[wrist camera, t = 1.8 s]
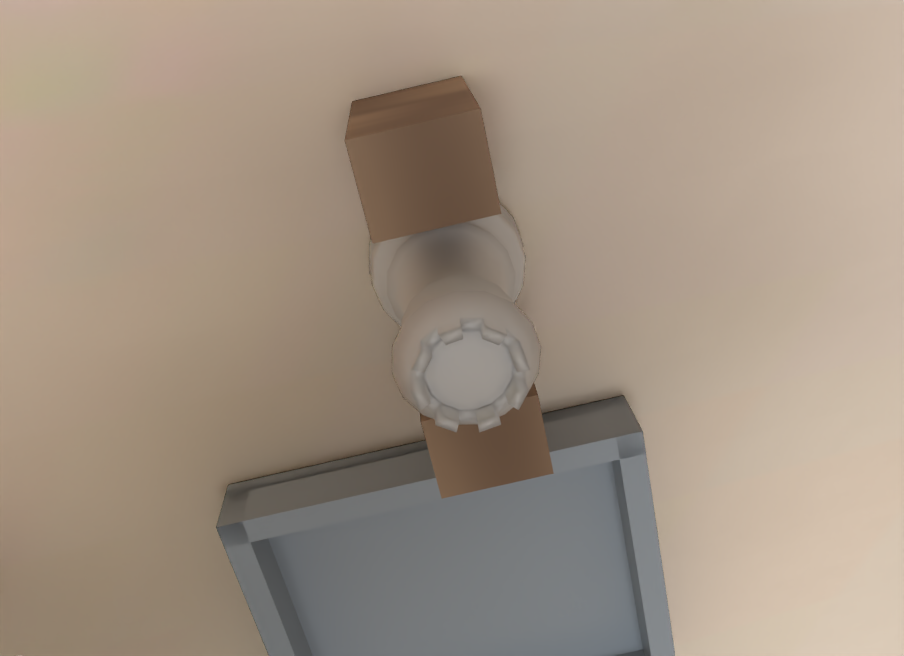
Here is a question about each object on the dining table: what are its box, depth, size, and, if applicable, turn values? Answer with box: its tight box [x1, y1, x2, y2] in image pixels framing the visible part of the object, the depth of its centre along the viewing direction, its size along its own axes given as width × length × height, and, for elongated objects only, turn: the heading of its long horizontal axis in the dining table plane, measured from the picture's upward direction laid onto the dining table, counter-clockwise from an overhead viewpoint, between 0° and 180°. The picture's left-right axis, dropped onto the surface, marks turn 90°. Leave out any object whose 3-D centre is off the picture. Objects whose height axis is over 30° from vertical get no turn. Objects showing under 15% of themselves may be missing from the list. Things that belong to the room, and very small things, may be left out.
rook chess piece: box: [369, 204, 541, 432], centre depth 21 cm, size 4×4×8 cm
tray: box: [216, 396, 675, 656], centre depth 29 cm, size 13×11×2 cm
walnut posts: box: [345, 76, 554, 499], centre depth 23 cm, size 3×10×5 cm, turn 12°
